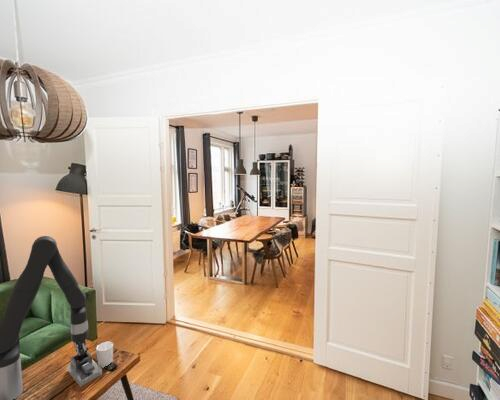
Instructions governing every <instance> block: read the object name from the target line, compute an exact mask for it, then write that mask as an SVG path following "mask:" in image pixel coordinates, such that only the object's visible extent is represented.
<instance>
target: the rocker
mask: <svg viewBox="0 0 500 400" xmlns="http://www.w3.org/2000/svg"><path fill="white" fill-rule="evenodd" d="M81 369H82V370H83V371H85V372H86V373H89V372H91V371H93V370H95V366H93V365H92V364H91V363H90V362H88V363H86V364H84V365H82V366H81Z"/></svg>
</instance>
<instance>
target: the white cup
mask: <svg viewBox="0 0 500 400" xmlns="http://www.w3.org/2000/svg"><path fill="white" fill-rule="evenodd" d="M96 358H97V364H98V365H99V366H100V367H101V368H103V369H104V367H105V366H107V365H108V364H110V363H111V362H112V363H113V360H114V359H113V358H114V342H112V341H109V340H108V341H104V342H102V343H99V344H98V345H97V346H96ZM105 368H106V367H105Z"/></svg>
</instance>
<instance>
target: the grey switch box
mask: <svg viewBox="0 0 500 400" xmlns="http://www.w3.org/2000/svg"><path fill="white" fill-rule="evenodd" d="M84 358H85V359H83V360H81V361H79V362H77V360H78V354H75V355H72V356H70V357H69V361H70V364H69V365H67V372H68V374H70V376H71V377H72V378H73V380H74V381H75V382H76V384H77V385H78V386H79V387H80V388H81V387H83V386H85V385H86V384H88V383H90V382H92V381H93V380H95V379H98V377H101V376H102V375H103V369H102V368H101V367H100V366H99V365H98V362H96V361H94V359H93V355H91V353H89V352H88V351H87V353H86V354H84ZM88 362H90V363H91V364H92V365H93V366H95V370H93V371H91V372H89V373H86V372H85V371H83V370H82V369H81V366H82V365H84V364H86V363H88Z"/></svg>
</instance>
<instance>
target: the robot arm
mask: <svg viewBox="0 0 500 400" xmlns="http://www.w3.org/2000/svg"><path fill="white" fill-rule="evenodd" d="M57 244H58V243H57V241H56V239H54V238H53V237H52V236H47V235H43V236H42V235H41V236H39V237H37V238H36V239H35V240H34V241H33V243H32V245H31V250H30V253H29V257H28V260H27V263H26V266H25V267H24V268H23V271H22V272H21V273H20V275H19V277H18V278H17V280H16V282H15V284H14V285H13V288H12V290H11V293H10V295H9V297H8V300H7V304H6V306H5V310H4V314H3V318H2V321H1V322H0V400H13V399H15V400H16V399H18V398H19V397H20V396H21V395H22V393H23V391H24V389H23V387H24V386H23V377H22V375H23V374H22V363H21V361H22V360H21V344H20V333H21V329H22V326H23V323H24V321H25V319H26V316H27V314H28V313H29V312H30V309H31V307H32V305H33V303H34V301H35V300H36V297H37V295H38V292H39V290H40V287H41V284H42V281H43V278H44V275H45V270H46V269H47V267H48V268H49V270H50V272H51V274H52V276H53V278H54V280H55V281H56V284H57V285H58V287H59V288H60V289H61V291H62V292H63V295H64V297H65V299H66V300H67V303H68V305H69V306H70V338H71V339H70V341H71V342H72V343H73V345H74V348H75V349H74V350H75V352H76V353H77V354H78V361H81V360H83V359H84V354H86V353H87V352H88V351H89V347H87V346H86V345H87V341H86V339H88V338H89V322H88V312H87V294H86V292H85V291H84V290H82V289H81V288H80V286H79V283H78V281H77V278H75V276H74V274H73V273H72V271H71V270H70V268H69V266H68V265H67V264H66V262H65V261H64V258H63V257H62V255H61V253H60V251H59V248H58V245H57ZM77 354H76V355H77Z"/></svg>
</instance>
